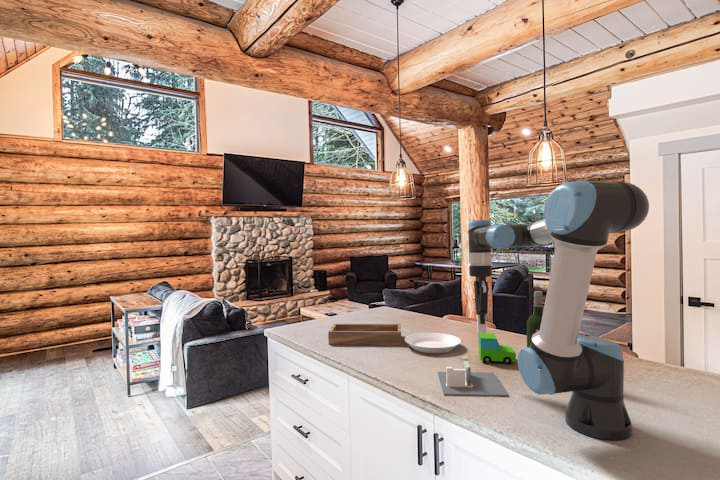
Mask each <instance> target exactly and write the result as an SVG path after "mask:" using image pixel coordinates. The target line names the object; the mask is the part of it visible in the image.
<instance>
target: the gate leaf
mask: <svg viewBox="0 0 720 480" xmlns="http://www.w3.org/2000/svg"><path fill="white" fill-rule="evenodd" d="M467 367H470V368H471V366H470V364H469V358H468V356H462V369H465V380H466V383H467Z"/></svg>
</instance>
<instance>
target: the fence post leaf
mask: <svg viewBox="0 0 720 480" xmlns="http://www.w3.org/2000/svg"><path fill="white" fill-rule="evenodd" d="M445 372H446V384H447V386H465V369H463V368H453V367H452V366H446V367H445ZM471 372H472V370H471V366H470V367H467V386H471Z"/></svg>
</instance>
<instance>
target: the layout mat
mask: <svg viewBox="0 0 720 480" xmlns="http://www.w3.org/2000/svg"><path fill="white" fill-rule="evenodd" d="M437 375H438V379H439V382H440V387H441V389H442V393H443V396H452V397H453V396H454V397H455V396H456V397H458V396H461V397H463V396H466V397H509V396H510V395H509V393H508V392H507V390H506V389H505V387H504V386H503V385H502V383H501V381H500V380H499V378H498V377H497V375H496V373H494V372H493V371H492V372H489V371H488V372H486V371H485V372H483V371H482V372H481V371H479V372H478V371H471V386H467V383H466V380H465V386H447V384H446V371H437Z"/></svg>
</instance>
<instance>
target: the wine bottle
mask: <svg viewBox="0 0 720 480" xmlns="http://www.w3.org/2000/svg"><path fill="white" fill-rule="evenodd" d="M533 297H534V298H533V299H534V300H533V313H532V315H529V317H528V318H527V320H526V347H530V344H531V339H532V335H533V334H534V333H536V332H539V331H540V326H541V321H542V316H543V310H544V306H543V291H540V290H535V291H534V292H533Z"/></svg>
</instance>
